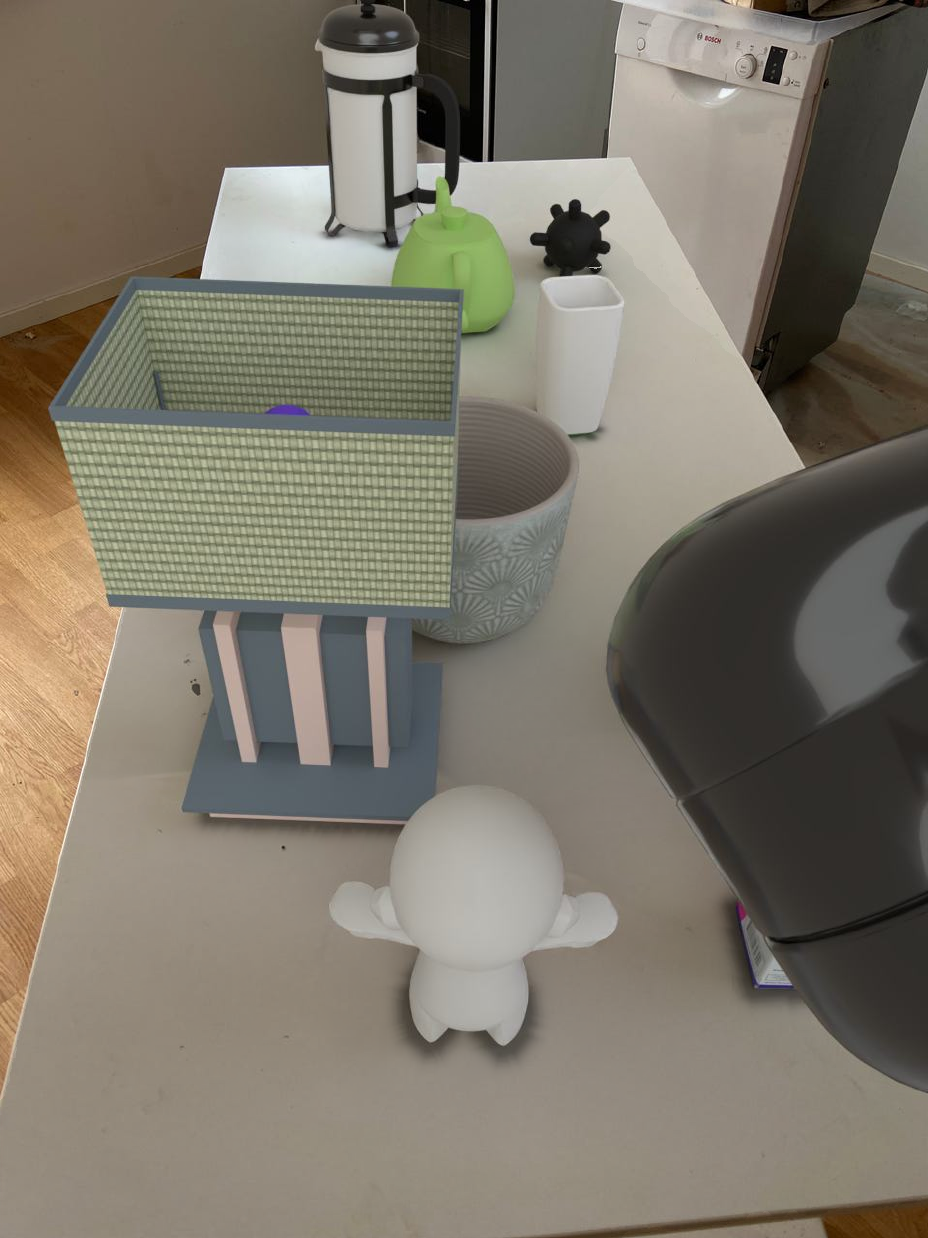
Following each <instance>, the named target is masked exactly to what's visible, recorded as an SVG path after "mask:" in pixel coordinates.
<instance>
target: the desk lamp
mask: <svg viewBox="0 0 928 1238" xmlns="http://www.w3.org/2000/svg"><path fill="white" fill-rule="evenodd" d="M463 292H464V289H444V288H418V287H392V286H391V285H390V286H388V285H387V286H386V285H365V284H364V285H363V284H339V283H337V284H336V283H310V282H309V283H308V282H287V281H260V280H259V281H258V280H237V279H236V280H234V279H233V280H232V279H211V278H209V279H208V278H206V279H205V278H184V277H183V278H181V277H180V278H179V277H155V276H131V275H130V277H129V279H128V281H127V282H126V284H125V285H124V287H123V289H122V290H121V291H120V293H119V295H118V296H117V298H116V300H115V301H114V303H113V304H112V305H111V307H110V308H109V311H108V312H107V314H106V315H105V316H104V318H103V320H102V321H101V323H100V324H99V326H98V328H97V329H96V331H95V333H94V334H93V336H92V338H91V339H90V341H89V342H88V344H87V346H86V347H85V349H83V351H82V354H81V355H80V357H79V359H78V360H77V361H76V363H75V365H74V366H73V367H72V369H71V371H70V372H69V374H68V376H67V377H66V379H65V380H64V381H63V384H62V385H61V387H60V388H59V389H58V391H57V393H56V395H55V396H54V398H53V399H52V401H51V403H50V405H49V406H48V408H47V409H48V412H49V416H50V419H51V421H52V422H54V425H55V427H56V428H55V429H56V431H57V435H58V437H59V441H60V444H61V448H62V451H63V454H64V457H65V460H66V461H65V462H66V463H67V467H68V470H69V474H70V477H71V480H72V483H73V486H74V489H75V493H76V496H77V500H78V503H79V506H80V509H81V513H82V516H83V519H84V522H85V525H86V529H87V532H88V536H89V538H90V542H91V546H92V548H93V551H94V552H93V553H94V555H95V558H96V562H97V565H98V569H99V571H100V574H101V577H102V581H103V585H104V587H105V591H106V594H105V597H106V601H107V603H108V606H109V608H110V607H111V608H133V609H158V610H159V609H160V610H184V611H185V610H187V611H203V612H202V616H201V619H200V622H199V625H198V628H197V629H198V634H199V638H200V643H201V647H202V651H203V656H204V660H205V665H206V669H207V673H208V679H209V683H210V686H211V690H212V695H213V696H212V699H211V703H210V707H209V710H208V713H207V717H206V721H205V724H204V727H203V731H202V734H201V738H200V742H199V745H198V748H197V752H196V756H195V759H194V763H193V766H192V769H191V773H190V777H189V779H188V783H187V787H186V790H185V794H184V798H183V801H182V805H181V812H182V813H186V814H187V813H189V814H191V813H192V814H209V817H210V818H229V819H230V818H231V819H232V818H233V819H254V820H255V819H256V820H257V819H260V820H283V821H307V822H311V821H312V822H335V823H360V824H383V825H385V824H387V825H406V823H407V822H408V820H409V819H410V818H411V817H412V816H413V814H414V813H415V812H416V811H417V810H418V809H419V808H420V807H421V806H422V805H424V804H425V803H426V802H427V801H429V800H430V799H432V798H433V797H435V796H436V783H437V769H438V768H437V767H438V751H439V734H440V733H439V732H440V718H441V703H442V702H441V701H442V699H441V698H442V683H443V667H444V663H441V662H416V661H413V630H412V618H413V619H439V620H450V618H451V599H452V581H453V563H454V544H455V526H456V508H457V489H458V469H459V462H458V429H459V396H460V390H461V388H460V387H461V385H460V384H461V382H460V381H461V354H462V353H461V351H462V350H461V349H462V333H461V329H462V313H463Z"/></svg>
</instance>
